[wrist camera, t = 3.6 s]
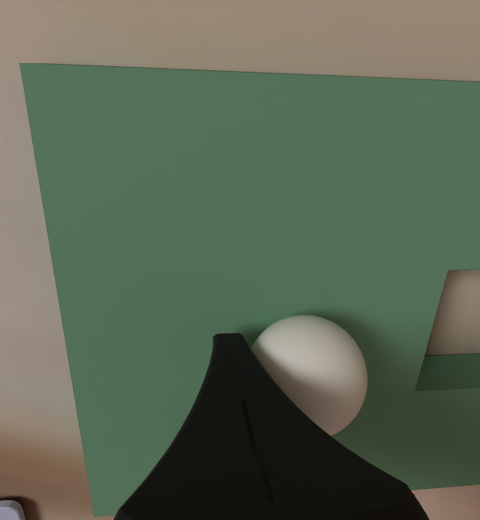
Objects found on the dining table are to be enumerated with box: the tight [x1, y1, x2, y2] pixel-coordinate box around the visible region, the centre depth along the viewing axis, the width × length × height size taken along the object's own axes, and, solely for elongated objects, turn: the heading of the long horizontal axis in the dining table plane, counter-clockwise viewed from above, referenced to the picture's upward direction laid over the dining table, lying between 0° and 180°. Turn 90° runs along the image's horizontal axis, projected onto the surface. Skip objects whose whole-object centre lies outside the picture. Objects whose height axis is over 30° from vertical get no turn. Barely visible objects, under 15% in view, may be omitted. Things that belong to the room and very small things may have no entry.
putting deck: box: [20, 63, 480, 517], centre depth 15 cm, size 19×16×2 cm
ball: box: [251, 315, 367, 436], centre depth 12 cm, size 4×4×4 cm
